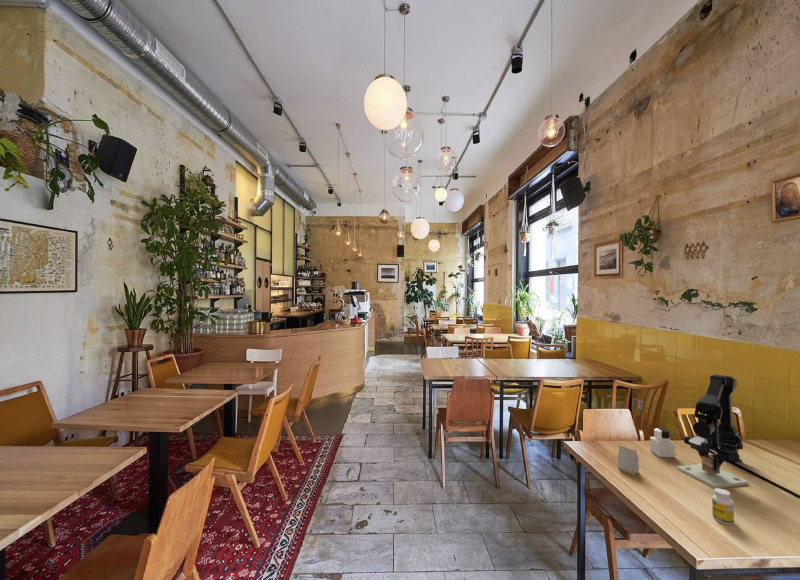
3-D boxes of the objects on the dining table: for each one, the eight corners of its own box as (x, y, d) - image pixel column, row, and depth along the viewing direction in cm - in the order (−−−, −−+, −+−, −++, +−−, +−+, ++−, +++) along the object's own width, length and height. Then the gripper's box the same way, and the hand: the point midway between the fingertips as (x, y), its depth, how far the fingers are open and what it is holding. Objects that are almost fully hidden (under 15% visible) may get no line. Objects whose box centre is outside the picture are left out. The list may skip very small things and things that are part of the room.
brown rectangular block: (710, 468, 150) (709, 454, 150) (719, 473, 146) (719, 459, 146) (702, 469, 150) (701, 455, 150) (711, 474, 146) (711, 460, 146)
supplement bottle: (708, 515, 121) (707, 487, 122) (722, 514, 122) (721, 486, 122) (724, 525, 116) (722, 496, 116) (738, 524, 117) (737, 495, 117)
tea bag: (634, 474, 150) (633, 451, 150) (618, 468, 156) (617, 445, 156) (638, 472, 152) (638, 449, 152) (622, 466, 158) (622, 444, 158)
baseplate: (707, 466, 157) (707, 462, 157) (748, 484, 141) (748, 480, 141) (677, 469, 154) (677, 465, 154) (715, 488, 139) (715, 483, 139)
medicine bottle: (665, 451, 173) (664, 427, 173) (675, 457, 165) (674, 432, 166) (650, 450, 173) (649, 426, 174) (659, 457, 166) (658, 432, 166)
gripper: (672, 424, 156) (674, 459, 156) (716, 441, 138) (718, 481, 137) (693, 423, 158) (695, 457, 158) (739, 439, 140) (741, 478, 139)
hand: (710, 467), depth 148 cm, fingers closed on brown rectangular block, 4 cm apart
